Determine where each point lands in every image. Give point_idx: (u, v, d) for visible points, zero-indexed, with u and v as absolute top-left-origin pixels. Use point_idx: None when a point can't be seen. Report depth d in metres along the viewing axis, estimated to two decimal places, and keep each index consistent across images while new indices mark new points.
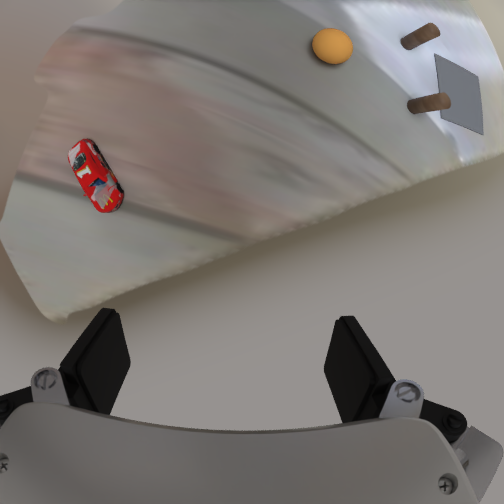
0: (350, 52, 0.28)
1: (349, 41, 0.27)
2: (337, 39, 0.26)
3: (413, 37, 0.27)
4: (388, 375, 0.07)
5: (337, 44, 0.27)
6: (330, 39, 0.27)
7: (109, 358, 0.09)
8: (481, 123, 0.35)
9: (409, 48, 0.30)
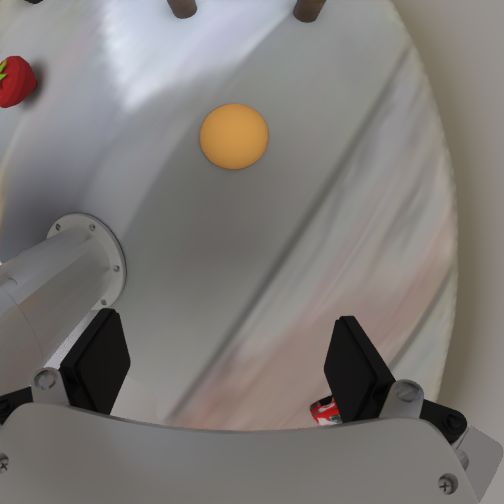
0: (251, 111, 0.20)
1: (230, 112, 0.19)
2: (235, 136, 0.20)
3: None
4: (388, 375, 0.07)
5: (245, 137, 0.20)
6: (235, 148, 0.20)
7: (109, 358, 0.09)
8: None
9: (196, 6, 0.19)
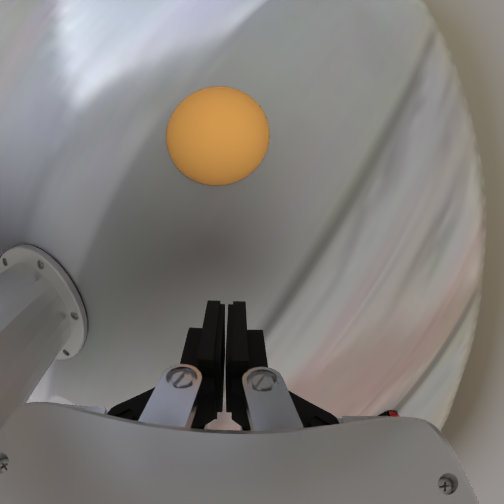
0: (244, 96, 0.13)
1: (212, 97, 0.12)
2: (220, 135, 0.12)
3: None
4: (244, 359, 0.08)
5: (235, 135, 0.12)
6: (220, 154, 0.13)
7: None
8: None
9: None
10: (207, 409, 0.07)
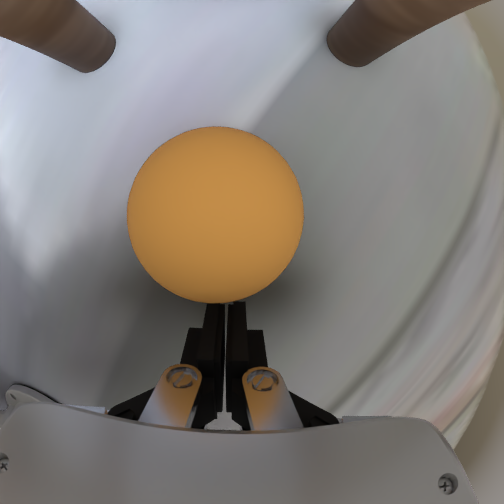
0: None
1: None
2: None
3: (55, 42, 0.05)
4: (244, 359, 0.08)
5: None
6: None
7: None
8: None
9: (110, 40, 0.08)
10: (207, 409, 0.07)
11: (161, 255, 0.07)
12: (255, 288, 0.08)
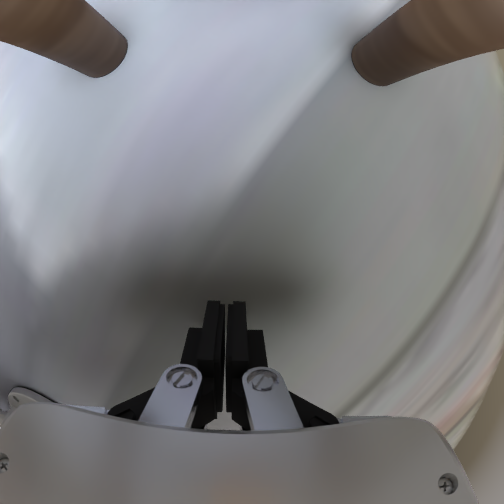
0: None
1: None
2: None
3: (62, 47, 0.05)
4: (244, 359, 0.08)
5: None
6: None
7: None
8: None
9: (121, 44, 0.08)
10: (207, 409, 0.07)
11: None
12: None
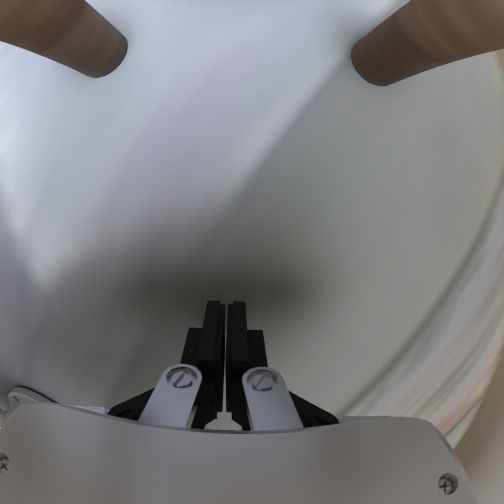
0: None
1: None
2: None
3: (62, 47, 0.05)
4: (244, 359, 0.08)
5: None
6: None
7: None
8: None
9: (121, 44, 0.08)
10: (207, 409, 0.07)
11: None
12: None
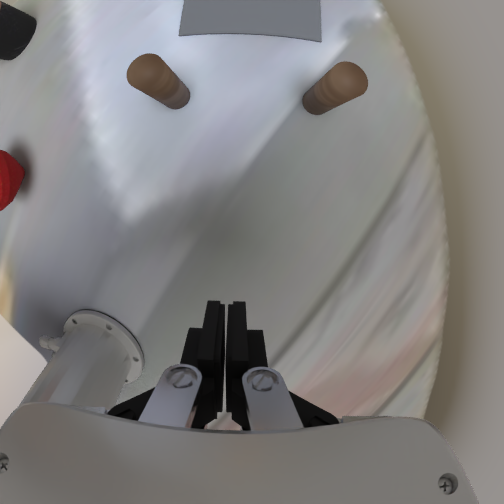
0: None
1: None
2: None
3: (169, 99, 0.18)
4: (244, 359, 0.08)
5: None
6: None
7: None
8: None
9: (188, 94, 0.21)
10: (207, 409, 0.07)
11: None
12: None
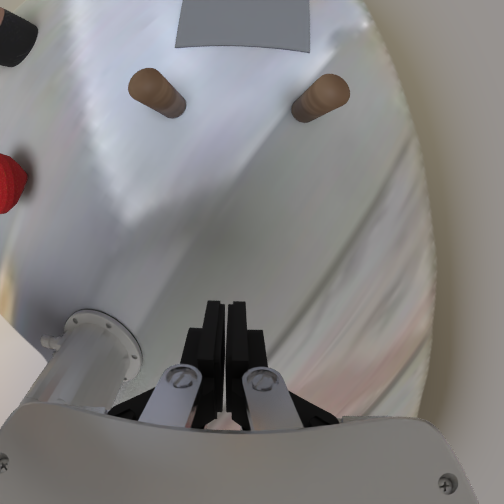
0: None
1: None
2: None
3: (167, 109, 0.20)
4: (244, 359, 0.08)
5: None
6: None
7: None
8: None
9: (184, 104, 0.23)
10: (207, 409, 0.07)
11: None
12: None
